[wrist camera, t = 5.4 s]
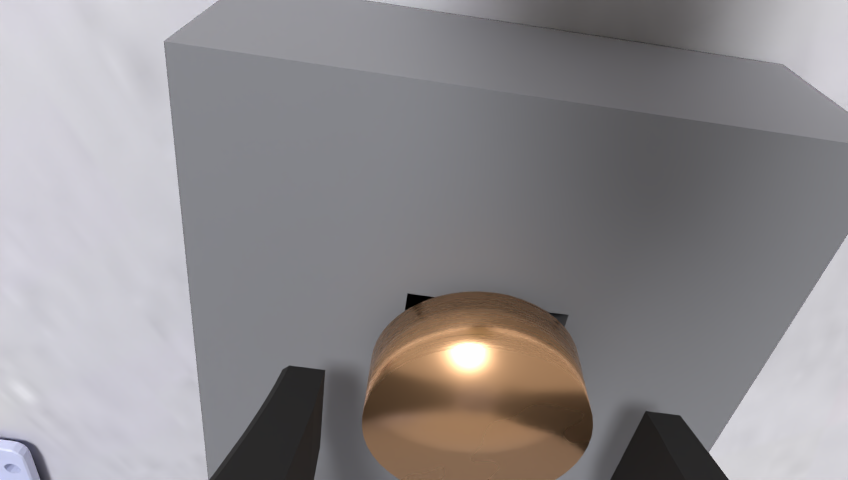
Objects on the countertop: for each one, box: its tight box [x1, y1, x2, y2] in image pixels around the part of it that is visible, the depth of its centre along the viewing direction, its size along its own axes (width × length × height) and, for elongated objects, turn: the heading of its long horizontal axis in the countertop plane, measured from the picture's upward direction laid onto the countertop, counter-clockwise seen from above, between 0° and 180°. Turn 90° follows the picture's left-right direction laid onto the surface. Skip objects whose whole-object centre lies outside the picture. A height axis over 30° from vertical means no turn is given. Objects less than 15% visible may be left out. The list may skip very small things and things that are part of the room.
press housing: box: [164, 0, 848, 480], centre depth 14 cm, size 11×11×4 cm
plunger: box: [362, 291, 593, 480], centre depth 13 cm, size 4×4×6 cm
